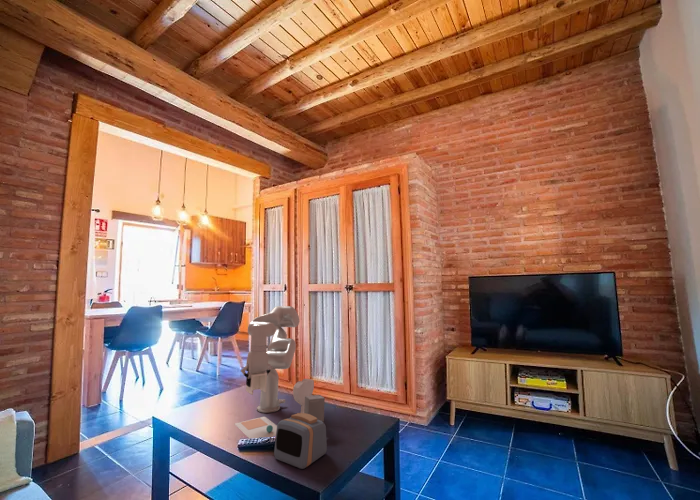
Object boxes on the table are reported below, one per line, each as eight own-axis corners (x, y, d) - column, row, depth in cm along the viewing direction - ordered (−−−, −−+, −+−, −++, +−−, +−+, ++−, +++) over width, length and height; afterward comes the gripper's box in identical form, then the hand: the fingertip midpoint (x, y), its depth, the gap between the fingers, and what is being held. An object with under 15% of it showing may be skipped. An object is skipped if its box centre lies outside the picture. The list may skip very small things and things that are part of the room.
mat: (264, 417, 171) (264, 416, 171) (288, 435, 151) (288, 433, 151) (233, 424, 161) (233, 423, 161) (254, 445, 141) (255, 443, 141)
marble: (271, 430, 155) (271, 423, 155) (273, 432, 152) (274, 425, 153) (265, 431, 153) (265, 425, 153) (267, 434, 150) (268, 427, 151)
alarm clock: (271, 459, 130) (273, 417, 131) (298, 443, 143) (299, 405, 145) (303, 472, 121) (305, 427, 123) (328, 454, 135) (329, 413, 137)
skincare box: (307, 435, 151) (309, 400, 153) (302, 429, 157) (303, 395, 159) (324, 432, 155) (325, 397, 157) (318, 426, 161) (319, 393, 163)
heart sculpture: (306, 409, 183) (307, 376, 185) (314, 411, 181) (315, 377, 183) (290, 419, 169) (292, 383, 171) (298, 421, 167) (300, 384, 169)
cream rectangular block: (259, 388, 168) (260, 370, 169) (266, 392, 163) (267, 373, 164) (246, 390, 164) (247, 372, 165) (251, 394, 158) (252, 375, 159)
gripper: (270, 346, 174) (269, 380, 172) (238, 349, 163) (236, 386, 161) (277, 348, 168) (275, 383, 166) (244, 351, 157) (242, 389, 155)
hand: (256, 384), depth 164 cm, fingers closed on cream rectangular block, 7 cm apart
